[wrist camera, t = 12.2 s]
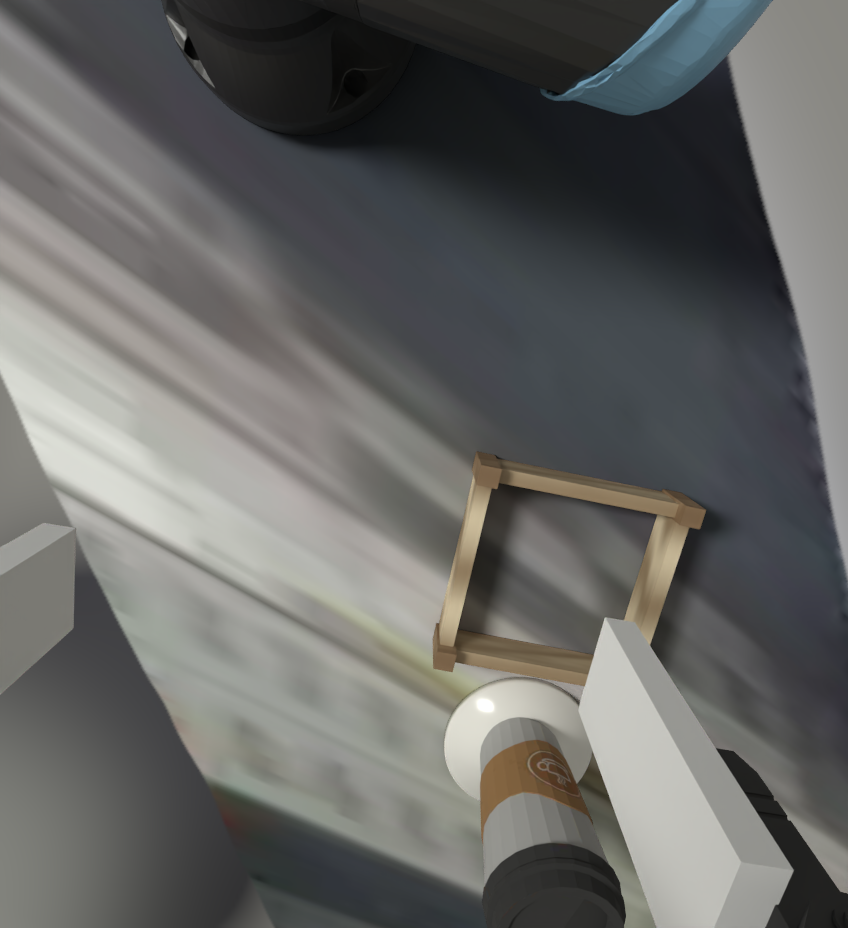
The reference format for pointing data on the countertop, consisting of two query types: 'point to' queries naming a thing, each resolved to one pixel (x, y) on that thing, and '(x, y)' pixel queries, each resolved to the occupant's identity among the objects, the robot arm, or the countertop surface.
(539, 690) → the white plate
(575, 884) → the coffee cup
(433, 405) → the countertop surface
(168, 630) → the countertop surface
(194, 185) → the countertop surface
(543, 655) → the wooden frame
